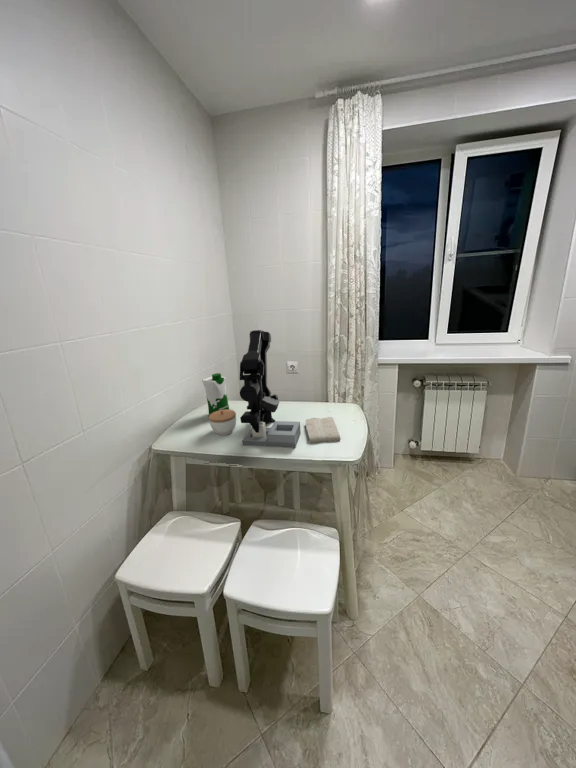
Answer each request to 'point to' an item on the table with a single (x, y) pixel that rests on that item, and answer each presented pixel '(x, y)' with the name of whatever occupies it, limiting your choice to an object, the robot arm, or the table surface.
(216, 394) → the milk carton
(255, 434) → the plug
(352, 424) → the table surface
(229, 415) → the lidded jar
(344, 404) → the table surface
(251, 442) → the socket panel
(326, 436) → the washcloth
